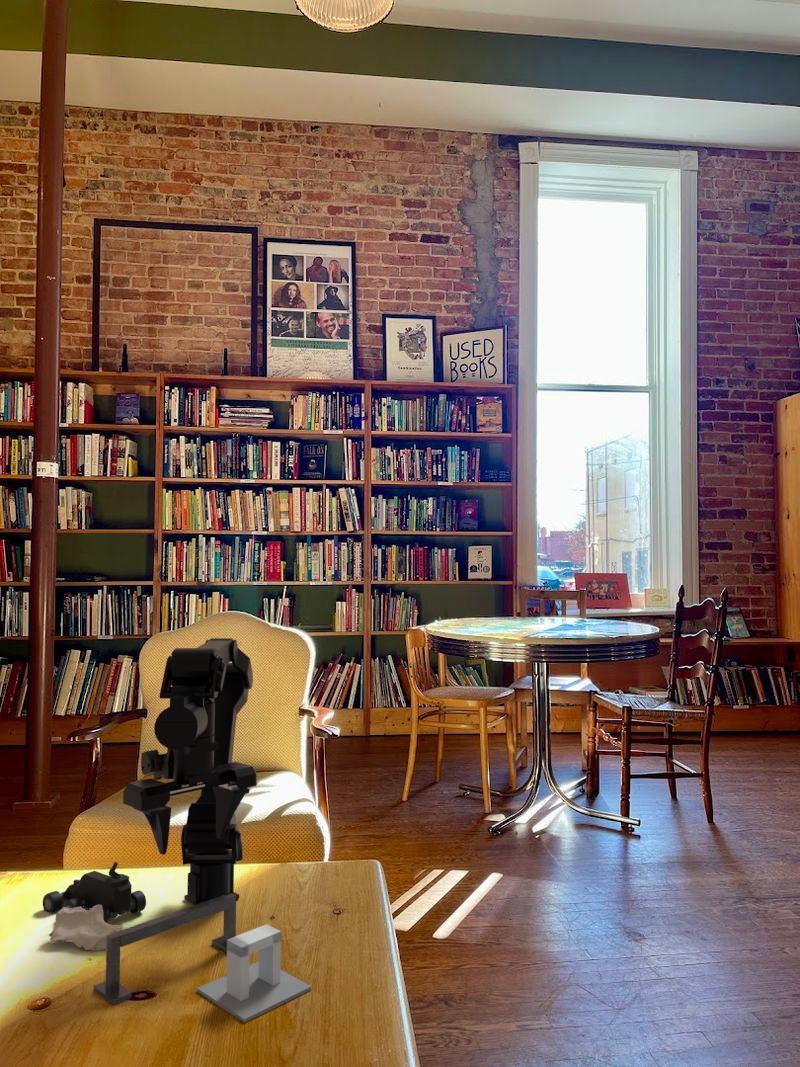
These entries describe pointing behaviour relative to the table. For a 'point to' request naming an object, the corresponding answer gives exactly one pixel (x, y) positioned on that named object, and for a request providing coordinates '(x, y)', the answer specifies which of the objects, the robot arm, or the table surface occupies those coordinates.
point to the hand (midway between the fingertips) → (191, 845)
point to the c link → (238, 959)
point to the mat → (254, 994)
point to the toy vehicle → (98, 895)
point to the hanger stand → (112, 986)
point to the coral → (83, 928)
